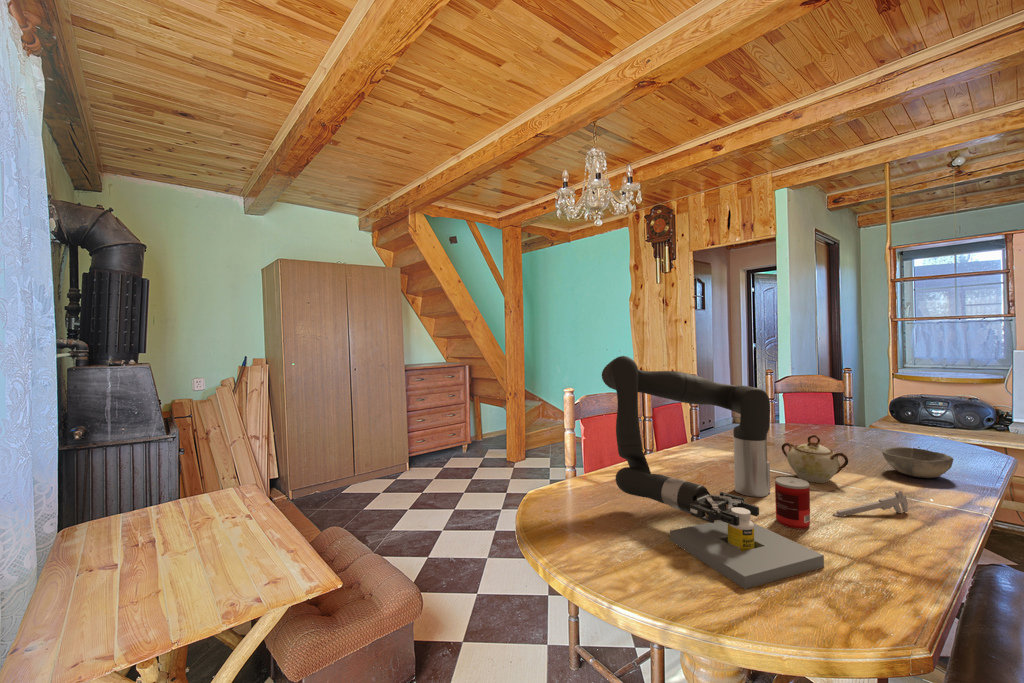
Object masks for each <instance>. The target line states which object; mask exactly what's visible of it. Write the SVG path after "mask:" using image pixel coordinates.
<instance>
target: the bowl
mask: <svg viewBox="0 0 1024 683" xmlns="http://www.w3.org/2000/svg"><path fill="white" fill-rule="evenodd" d="M881 451H882V452H881V453H882V456H883V458H884V459H885V461H886V462H887V464H888V465H889V466H890V467H891V468H892V469H894V470H896V471H897V472H899V473H901V474H903V475H906V476H909V477H915V478H925V479H933V478H939V477H941V476H942V475H944V474H946V473H947V472H948V471H949V470H950V469H951V468H952V467H953V466H952V465H953V462H954V458H953V457H952V456H951V455H948V454H945V453H942V452H939V451H938V452H937V451H932V450H928V449H922V448H916V447H907V446H905V447H904V446H898V447H897V446H894V447H886V448H884V449H882V450H881Z"/></svg>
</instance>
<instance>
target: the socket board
mask: <svg viewBox="0 0 1024 683" xmlns="http://www.w3.org/2000/svg"><path fill="white" fill-rule="evenodd" d="M753 523H754V549H750V550H746V551H741V550H739V549H737V548H735V547H733V546H732V545H730V544H728V523H726V522H723V521H721V522H717V521H716V520H714V523H710V522H706V523H705V522H704V523H700V524H696V525H691V526H687V527H682V528H677V529H672V530H669V542H671V541H672V542H674V543H675V544H677V545H678V546H677V545H676V546H677V547H679V546H680V547H681V548H680V547H679V548H680V549H682V548H683V549H685V550H686V551H687V552H686V551H685V550H684V551H685V552H686V553H688V552H689V553H690V554H689V553H688V554H689V555H691V554H692V555H691V556H693V557H694V556H695V557H694V558H696V559H697V560H699V561H701V562H702V563H703V564H705V565H706V566H708V567H710V568H711V569H713V570H714V571H716V572H717V573H719V574H720V575H722V576H724V577H725V578H727V579H729V580H730V581H731V582H734V583H735V584H737V585H738V586H739V587H740V588H743V589H744V590H747V589H751V588H753V587H754V588H755V587H757V586H761V585H765V584H769V583H771V582H775V581H778V580H782V579H786V578H789V577H794V576H796V575H800V574H803V573H808V572H810V571H815V570H818V569H822V568H824V567H825V557H824V556H825V555H824V554H822V553H820V552H818V551H816V550H813V549H811V548H809V547H807V546H805V545H802V544H800V543H799V542H796V541H794V540H791V539H790V538H788V537H785V536H783V535H780V534H779V533H777V532H774V531H772V530H770V529H768V528H766V527H763V526H761V525H759V524H757V523H755V522H753ZM672 542H671V543H672ZM674 543H673V544H674ZM675 544H674V545H675ZM683 549H682V550H683Z"/></svg>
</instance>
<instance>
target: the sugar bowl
mask: <svg viewBox="0 0 1024 683" xmlns="http://www.w3.org/2000/svg"><path fill="white" fill-rule="evenodd" d="M812 438H813V439H814V438H816V439H817V441H816V442H811V439H812ZM820 443H821V439H820V437H819V436H818V435H817V434H812V435H810V436H808V437H807V443H802V444H797V445H795V444H792V443H790V442H784V443H783V444H782V445H781V452H782V453H783V454H784V456H785V457H786V460H787V462H788V465H789V466H790V468H791V470H793V472H794V473H795V474H796V476H797V478H798V479H802V480H804V481H807V482H808V483H810V482H811V483H815V482H816V484H823V483H828V482H829V481H830V480H831V479H832V478H833V477H834V476H835V475H838V474H839V473H840V471H842V470H843V469H844V468H845V467H847V465H848V464H849V459H848V456H847V455H846V454H845V453H844V452H834V451H833V450H832V449H830V448H828V447H825V446H823V445H821V444H820ZM787 446H788V447H789V449H788V452H786V450H785V448H786V447H787ZM839 457H842V458H843V459H844V462H843V464H842V465H841V460H840V458H839Z"/></svg>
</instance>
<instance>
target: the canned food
mask: <svg viewBox="0 0 1024 683" xmlns="http://www.w3.org/2000/svg"><path fill="white" fill-rule="evenodd" d="M810 491H811V490H810V482H809V481H805V480H802V479H800V478H799V477H797V478H796V477H792V476H780V477H776V478H775V479H774V494H775V495H774V496H775V497H774V499H775V501H774V502H775V518H776V521H777V523H778V522H779V523H778V524H780V525H781V524H782V526H783V525H784V526H783V527H786V526H787V527H786V528H789V527H790V528H789V529H794V528H795V530H804V529H807V528H809V527H810V525H811V497H810V496H811V492H810Z"/></svg>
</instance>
